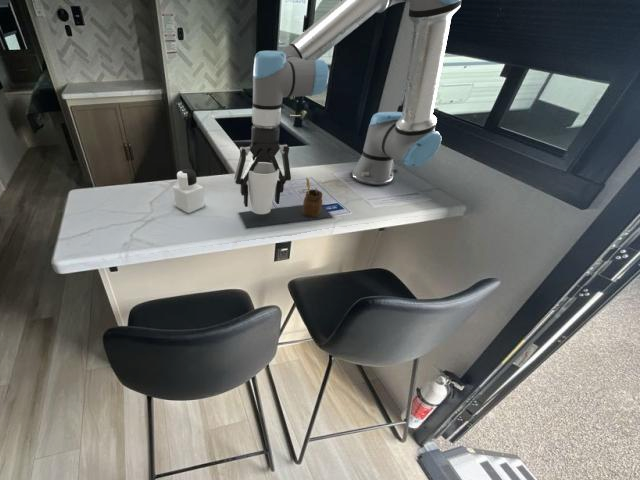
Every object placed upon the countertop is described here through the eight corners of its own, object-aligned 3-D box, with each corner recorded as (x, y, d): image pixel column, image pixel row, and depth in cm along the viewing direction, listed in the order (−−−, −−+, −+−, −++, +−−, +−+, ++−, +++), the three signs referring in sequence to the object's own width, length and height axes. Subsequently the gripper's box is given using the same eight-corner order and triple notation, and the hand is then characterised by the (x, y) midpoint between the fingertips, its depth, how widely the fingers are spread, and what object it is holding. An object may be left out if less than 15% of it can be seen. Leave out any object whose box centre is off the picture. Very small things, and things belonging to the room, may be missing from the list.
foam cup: (273, 218, 98) (277, 176, 89) (243, 215, 100) (244, 173, 91) (277, 203, 105) (281, 163, 96) (249, 201, 106) (250, 160, 97)
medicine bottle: (191, 199, 114) (188, 165, 106) (204, 206, 110) (202, 171, 102) (175, 206, 110) (170, 171, 102) (188, 214, 107) (184, 178, 98)
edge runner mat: (320, 204, 112) (320, 203, 112) (332, 217, 105) (332, 216, 105) (239, 213, 107) (239, 212, 107) (246, 228, 100) (246, 227, 100)
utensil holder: (323, 216, 105) (330, 180, 97) (305, 218, 104) (311, 182, 96) (315, 207, 109) (321, 172, 101) (298, 210, 108) (303, 174, 100)
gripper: (301, 119, 90) (291, 195, 105) (222, 122, 87) (224, 200, 102) (310, 127, 84) (298, 206, 100) (227, 130, 81) (228, 211, 97)
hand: (261, 203), depth 101 cm, fingers closed on foam cup, 9 cm apart
